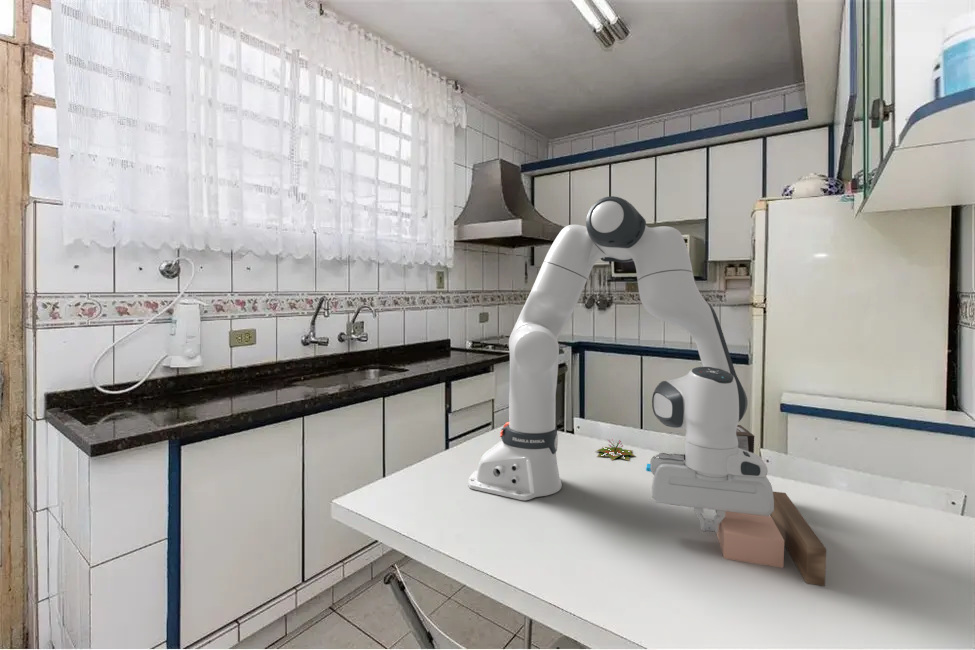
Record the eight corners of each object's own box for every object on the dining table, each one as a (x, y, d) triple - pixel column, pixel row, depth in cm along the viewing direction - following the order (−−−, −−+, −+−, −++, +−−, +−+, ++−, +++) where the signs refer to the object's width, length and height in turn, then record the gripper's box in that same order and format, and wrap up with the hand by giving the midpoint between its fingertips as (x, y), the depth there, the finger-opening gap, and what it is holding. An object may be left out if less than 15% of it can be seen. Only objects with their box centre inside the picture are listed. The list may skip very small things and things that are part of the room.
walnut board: (806, 583, 75) (807, 546, 75) (770, 520, 96) (771, 491, 96) (824, 585, 74) (826, 549, 74) (784, 521, 95) (785, 492, 95)
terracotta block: (724, 560, 82) (724, 532, 82) (716, 535, 91) (717, 509, 90) (783, 569, 79) (784, 540, 79) (770, 542, 88) (771, 516, 88)
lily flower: (639, 451, 139) (639, 436, 139) (634, 465, 128) (634, 449, 128) (598, 446, 144) (598, 432, 144) (590, 459, 133) (590, 443, 133)
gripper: (650, 457, 87) (649, 530, 88) (778, 469, 80) (775, 547, 81) (650, 446, 93) (649, 515, 94) (768, 456, 86) (766, 530, 87)
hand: (709, 530), depth 87 cm, fingers closed
